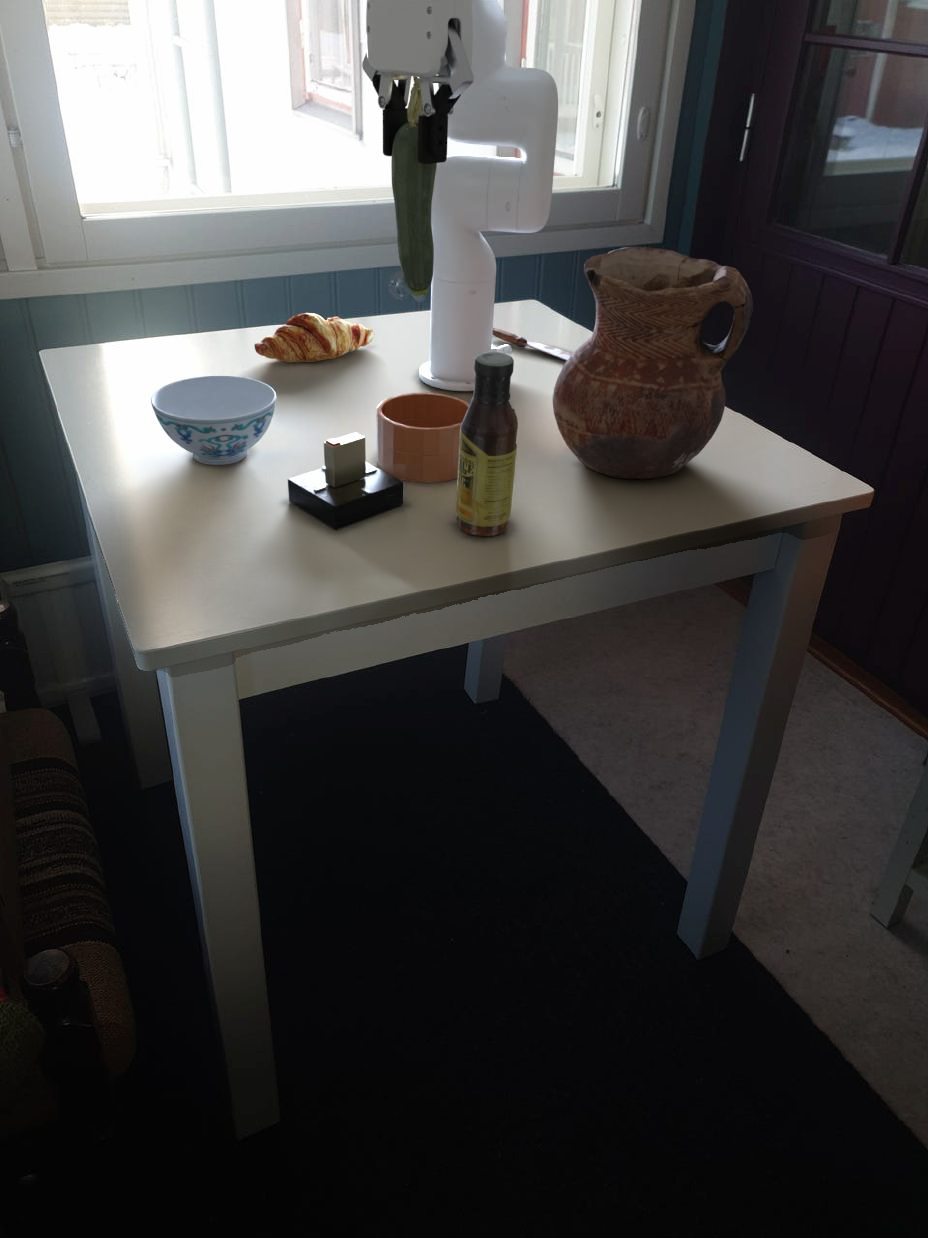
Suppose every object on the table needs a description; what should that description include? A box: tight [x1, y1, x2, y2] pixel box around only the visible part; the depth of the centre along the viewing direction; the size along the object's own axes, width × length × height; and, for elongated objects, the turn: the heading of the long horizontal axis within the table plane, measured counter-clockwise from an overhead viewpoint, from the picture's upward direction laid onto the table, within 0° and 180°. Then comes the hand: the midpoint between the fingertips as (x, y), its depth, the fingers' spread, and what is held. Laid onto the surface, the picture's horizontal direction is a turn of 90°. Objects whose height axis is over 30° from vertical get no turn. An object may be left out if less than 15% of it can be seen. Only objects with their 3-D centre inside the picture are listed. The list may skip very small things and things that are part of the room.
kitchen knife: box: [492, 327, 573, 362], centre depth 163 cm, size 21×2×5 cm
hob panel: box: [287, 462, 405, 531], centre depth 112 cm, size 10×9×3 cm
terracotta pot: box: [376, 392, 470, 484], centre depth 122 cm, size 12×12×7 cm
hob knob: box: [323, 432, 367, 488], centre depth 110 cm, size 5×2×5 cm, turn 134°
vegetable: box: [390, 76, 437, 298], centre depth 94 cm, size 4×4×20 cm
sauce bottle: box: [455, 352, 519, 537], centre depth 104 cm, size 7×6×20 cm
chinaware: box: [150, 375, 277, 466], centre depth 121 cm, size 15×15×8 cm
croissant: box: [254, 312, 375, 364], centre depth 155 cm, size 21×10×8 cm, turn 126°
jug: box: [552, 246, 754, 480], centre depth 120 cm, size 22×21×25 cm
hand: (414, 156), depth 92 cm, fingers closed on vegetable, 4 cm apart
